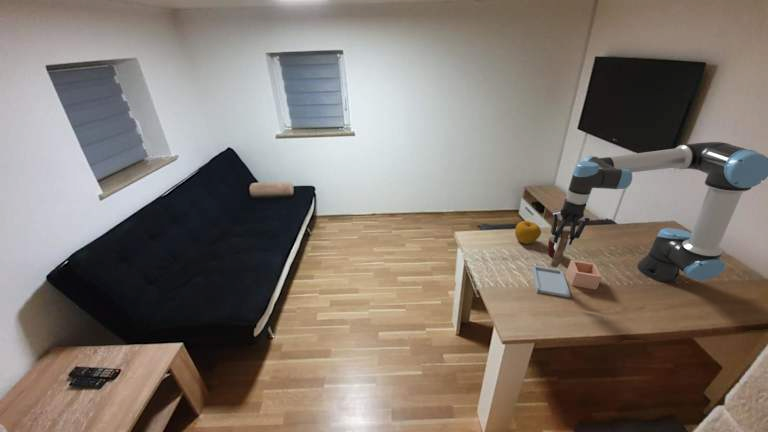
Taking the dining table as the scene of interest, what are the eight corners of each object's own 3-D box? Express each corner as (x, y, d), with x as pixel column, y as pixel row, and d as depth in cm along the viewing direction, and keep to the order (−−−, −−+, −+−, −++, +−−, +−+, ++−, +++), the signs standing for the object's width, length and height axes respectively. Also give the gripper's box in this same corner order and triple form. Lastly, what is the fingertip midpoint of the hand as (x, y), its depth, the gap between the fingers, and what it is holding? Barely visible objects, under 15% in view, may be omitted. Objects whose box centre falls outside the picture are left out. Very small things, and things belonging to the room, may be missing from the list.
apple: (519, 232, 179) (523, 215, 173) (541, 241, 170) (546, 224, 165) (508, 240, 171) (512, 223, 166) (531, 250, 163) (536, 232, 157)
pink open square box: (589, 277, 143) (594, 263, 139) (595, 290, 135) (601, 276, 131) (566, 273, 146) (570, 259, 142) (570, 286, 137) (576, 272, 133)
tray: (531, 268, 149) (532, 265, 148) (560, 273, 145) (562, 269, 144) (536, 293, 134) (537, 289, 133) (569, 299, 130) (570, 295, 129)
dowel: (557, 264, 136) (569, 229, 127) (558, 268, 133) (570, 233, 125) (550, 262, 136) (561, 228, 128) (551, 266, 134) (562, 232, 125)
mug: (568, 263, 152) (573, 247, 147) (552, 264, 152) (557, 248, 147) (556, 251, 161) (561, 236, 156) (541, 252, 161) (546, 236, 156)
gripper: (596, 199, 121) (578, 247, 132) (552, 194, 125) (538, 242, 136) (602, 207, 114) (582, 257, 125) (555, 202, 118) (541, 251, 129)
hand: (559, 249), depth 131 cm, fingers closed on dowel, 3 cm apart
